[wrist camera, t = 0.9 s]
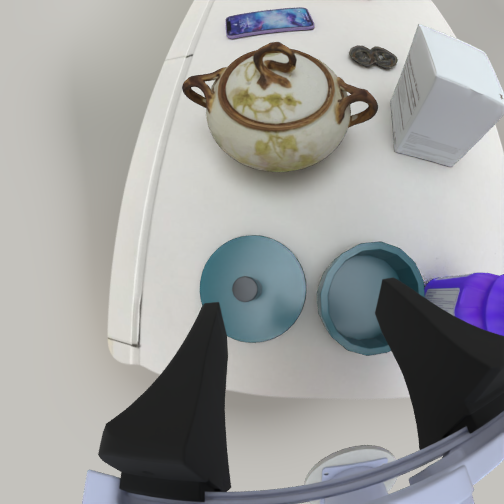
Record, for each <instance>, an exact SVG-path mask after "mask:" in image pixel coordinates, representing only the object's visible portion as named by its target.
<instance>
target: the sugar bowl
mask: <svg viewBox="0 0 504 504" xmlns="http://www.w3.org/2000/svg"><path fill="white" fill-rule="evenodd" d="M215 79H216V80H215ZM211 80H215V82H214V83H213V85H212V88H211V89H210V88H209V86H208V85H207V84H206V83H205V81H211ZM194 86H195V87H198V88H199V89H201V90H202V92H203V93H204V95H205V97H203V96H201V95H199V94H197V93H196V92H194V91H193V90H192V89H191V87H194ZM182 89H183V92H184V94H185V95H186V96H187V97H188V98H189V99H190V100H192V101H193V102H195V103H197V104H199V105H201V106H203V107H205V108H207V110H206V115H207V122H208V125H209V129H210V131H211V133H212V135H213V137H214V139H215V141H216V142H217V144H218V145H219V146H220V147H221V148H222V149H223V151H224V152H226V153H227V154H228V155H229V156H231V157H232V158H233V159H235V160H236V161H238V162H240V163H242V164H244V165H246V166H249V167H251V168H255V169H259V170H263V171H270V172H288V171H294V170H299V169H303V168H306V167H309V166H311V165H314V164H316V163H318V162H320V161H321V160H323V159H324V158H326V157H327V156H328V155H330V154H331V153H332V152H333V151H334V150H335V149H336V148H337V146H338V145H339V144H340V142H341V141H342V140H343V138H344V136H345V134H346V132H347V129H348V128H349V127H351V126H353V125H356V124H359V123H362V122H365V121H367V120H369V119H371V118H372V117H373V116H374V115H375V114H376V112H377V110H378V105H377V102H376V100H375V98H374V97H373V96H372V95H371V94H370V93H369V92H368V91H367V90H365V89H360V88H356V87H354V86H351V85H348V84H346V83H345V82H344V81H343V79H341V78H340V77H337V75H336V74H335V73H334V72H333V71H332V70H331V69H330V68H329V67H328V66H326V65H325V64H324V63H322V62H321V61H319V60H318V59H316V58H314V57H312V56H310V55H308V54H306V53H303V52H300V51H298V50H293V49H289V48H288V47H286V46H285V45H283V44H281V43H280V42H273V43H269V44H267V45H265V46H263V47H261V48H260V49H258V50H256V51H252V52H249V53H247V54H245V55H243V56H241V57H239V58H238V59H236V60H235V61H234V62H232V63H231V64H230V65H229V66H228V67H225V68H221V69H219V70H217V71H215V72H213V73H210V74H204V75H196V76H191V77H189V78H188V79H187V80H186V81H185V82H184V83H183V87H182ZM346 91H347V92H349V93H350V94H351V95H349V96H348V95H347V92H346ZM357 101H362V102H365V103H368V105H369V107H368V108H367V109H366V110H365V111H363V112H360V113H358V114H355V115H352V116H350V115H351V110H350V104H351V103H354V102H357Z"/></svg>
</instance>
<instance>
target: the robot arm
mask: <svg viewBox="0 0 504 504" xmlns="http://www.w3.org/2000/svg"><path fill="white" fill-rule="evenodd" d="M375 315H376V318H377V321H378V323H379V326H380V329H381V331H382V333H383V335H384V337H385V339H386V341H387V343H388V345H389V347H390V349H391V351H392V353H393V355H394V357H395V359H396V361H397V363H398V365H399V367H400V369H401V371H402V373H403V376H404V379H405V382H406V385H407V388H408V391H409V394H410V398H411V402H412V405H413V409H414V414H415V419H416V423H417V431H418V438H419V448H420V450H419V451H417V452H415V453H412V454H410V455H408V456H405V457H403V458H400V459H398V460H395V461H392V462H390V463H388V459H387V458H380V459H375V460H370V461H365V462H359V463H353V464H346V465H339V466H330V467H325V468H323V469H322V481H321V482H318V483H313V484H308V485H302V486H296V487H288V488H282V489H272V490H260V491H244V492H227V491H228V490H229V489H230V488H231V483H230V474H229V465H228V455H227V444H226V430H225V429H226V428H225V410H224V409H225V389H226V375H227V361H228V348H227V334H226V330H225V325H224V321H223V317H222V313H221V308H220V304H219V302H213V303H205V304H204V305H203V306H202V308H201V310H200V312H199V315H198V317H197V319H196V321H195V323H194V324H193V326H192V328H191V330H190V332H189V334H188V335H187V337H186V339H185V341H184V342H183V344H182V345H181V347H180V348H179V350H178V352H177V353H176V355H175V356H174V358H173V359H172V360H171V362H170V363H169V365H168V366H167V367H166V368H165V370H164V371H163V372H162V374H161V375H160V376H159V377H158V378H157V379H156V380H155V382H154V383H153V384H152V385H151V386H150V387H149V388H148V389H147V390H146V391H145V392H144V393H143V394H142V395H141V396H140V397H139V398H138V399H137V400H136V401H135V402H134V403H133V404H132V405H130V406H129V407H128V408H127V409H126V410H124V411H123V412H122V413H120V414H119V415H118V416H116V417H115V418H114V419H112V420H111V421H110V422H108V423H107V424H106V426H105V429H104V431H103V435H102V440H101V444H100V449H99V454H98V455H99V457H100V458H101V459H102V460H103V461H104V462H105V463H107V464H109V465H110V466H112V467H114V468H116V469H117V470H119V471H121V472H122V473H121V478H118V477H115V476H112V475H108V474H104V473H100V472H96V471H93V470H88V471H87V477H86V482H85V488H84V495H83V501H82V504H297V503H304V502H310V501H315V500H320V504H475V503H474V500H473V497H472V492H473V491H474V488H473V485H474V484H476V483H477V482H478V481H479V480H481V479H482V478H483V477H485V476H486V475H487V474H488V473H489V472H491V471H492V470H493V469H494V468H495V467H496V466H498V465H499V464H500V463H501V462H502V461H503V460H504V336H502V335H499V334H495V333H492V332H489V331H486V330H483V329H481V328H479V327H476V326H474V325H471V324H469V323H467V322H465V321H463V320H461V319H459V318H457V317H455V316H453V315H452V314H450V313H448V312H446V311H445V310H443V309H441V308H440V307H438V306H437V305H435V304H433V303H432V302H430V301H429V300H427V299H426V298H424V297H423V296H421V295H420V294H418V293H417V292H416V291H414V290H413V289H411V288H410V287H408V286H407V285H405V284H404V283H402V282H401V281H399V280H397V279H396V278H394V277H393V278H387V279H382V283H381V288H380V293H379V298H378V302H377V306H376V311H375ZM441 456H443V457H442V459H440V460H439V461H437V462H435V463H434V464H432V465H430V466H428V467H427V468H426V469H424V470H423V471H421V472H420V473H418V474H416V475H414V476H412V477H411V478H410V479H409V483H410V486H408V487H406V488H403V489H401V490H399V491H396V492H394V493H391V494H388V492H387V489H386V487H385V484H384V481H387V480H390V479H392V478H395V477H398V476H400V475H403V474H405V473H407V472H410V471H412V470H414V469H416V468H419V467H421V466H423V465H425V464H427V463H429V462H431V461H433V460H435V459H437V458H439V457H441ZM384 463H385V464H384ZM382 464H383V465H382ZM325 473H327V474H325Z"/></svg>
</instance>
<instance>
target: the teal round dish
mask: <svg viewBox="0 0 504 504" xmlns="http://www.w3.org/2000/svg"><path fill="white" fill-rule="evenodd" d="M393 277H394V278H396V279H397V280H399V281H401V282H402V283H404V284H405V285H407V286H408V287H410V288H411V289H413V290H414V291H416V292H417V293H418V294H420V295H421V296H423V297H424V298H425V293H424V282H423V279H422V276H421V274H420V272H419V270H418V268H417V266H416V263H415V262H414V261H413V260H412V259H411V258H410V257H409V256H408V255H407V254H406V253H405V252H403V251H402V250H401V249H400V248H398V247H395V246H392V245H389V244H386V243H383V242H372V243H361V244H359V245H357V246H355V247H353V248H351V249H350V250H348V251H346V252H344V253H342V254H341V255H340V256H339V257H337V258H336V259H335V260H334V261H333V262H332V264H331V265H330V266H329V267H328V269H327V270H326V271H325V272H324V273H323V275H322V279H321V281H320V284H319V288H318V291H317V304H318V313H319V315H320V317H321V319H322V321H323V323H324V325H325V327H326V329H327V331H328V332H329V334H330V335H331V337H332V338H333V339H335V340H336V341H337V342H338V343H339V344H341V345H342V346H343V347H344V348H345V349H347V350H348V351H352V352H355V353H359V354H363V355H366V356H369V355H375V354H381V353H387V352H389V351H391V349H390V347H389V345H388V343H387V341H386V339H385V337H384V335H383V333H382V331H381V329H380V326H379V323H378V321H377V318H376V315H375V311H376V306H377V302H378V298H379V293H380V288H381V283H382V279H387V278H393Z"/></svg>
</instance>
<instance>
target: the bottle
mask: <svg viewBox="0 0 504 504" xmlns="http://www.w3.org/2000/svg"><path fill="white" fill-rule="evenodd" d="M424 293H425V298H426V299H427V300H429V301H430V302H432V303H433V304H435V305H437V306H438V307H440V308H441V309H443V310H445V311H446V312H448V313H450V314H452V315H453V316H455V317H457V318H459V319H461V320H463V321H465V322H467V323H469V324H471V325H474V326H476V327H479V328H481V329H483V330H486V331H489V332H492V333H495V334H499V335H502V336H504V274H503V275H501V276H498V275H494V274H490V273H474V274H468V275H461V276H452V277H443V278H435V279H433V280H431V281H430V282H429V283H428V284H427V285H426V287H425V288H424Z"/></svg>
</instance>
